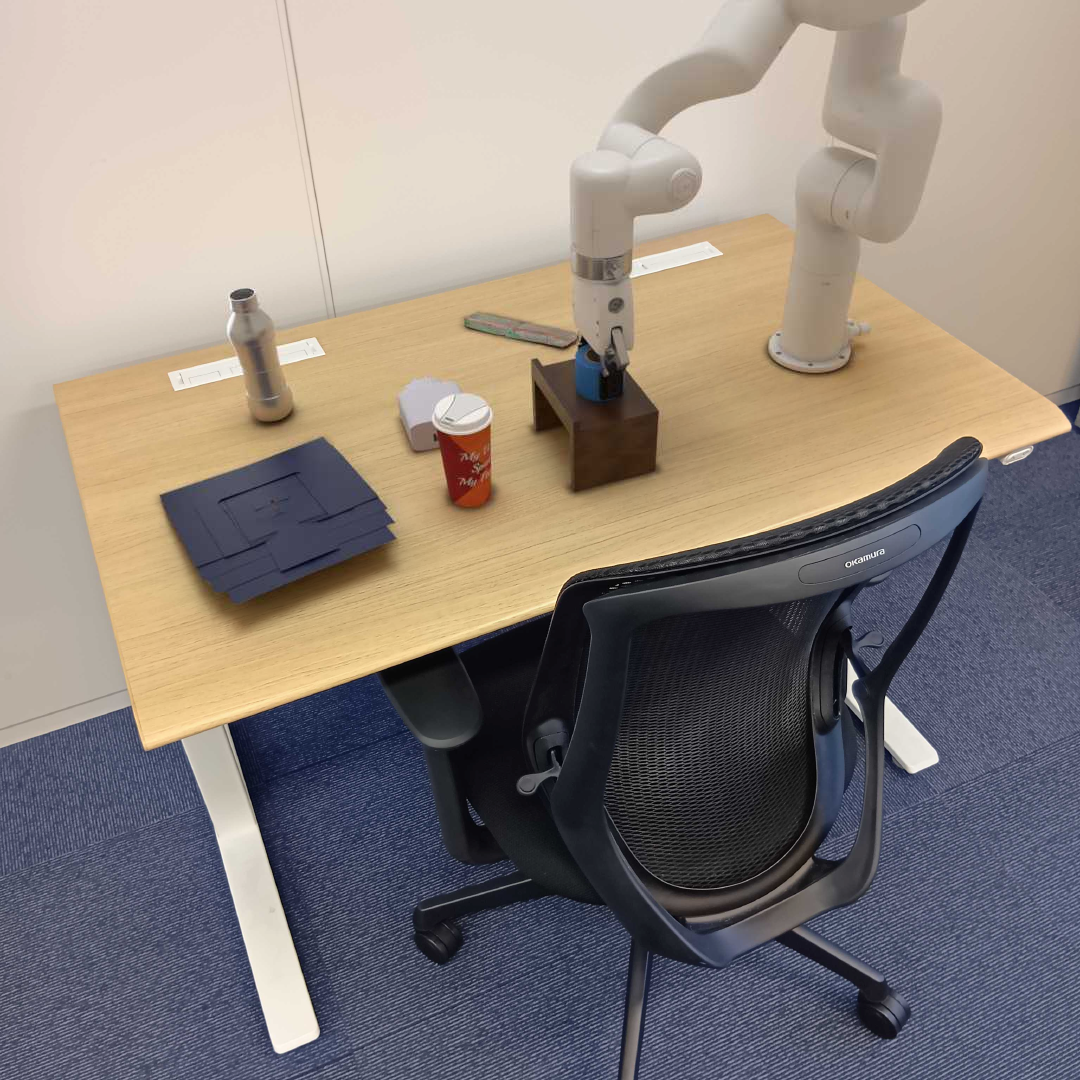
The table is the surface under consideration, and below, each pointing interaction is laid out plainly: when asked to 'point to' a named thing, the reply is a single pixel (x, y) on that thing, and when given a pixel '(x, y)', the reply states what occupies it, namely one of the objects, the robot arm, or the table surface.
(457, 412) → the paper cup
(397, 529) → the table surface
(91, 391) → the table surface
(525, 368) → the table surface
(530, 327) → the map
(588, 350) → the tape roll
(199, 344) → the table surface
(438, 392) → the charger
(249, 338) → the silver metal bottle
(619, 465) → the desk shelf
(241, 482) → the navy flat layered slab
